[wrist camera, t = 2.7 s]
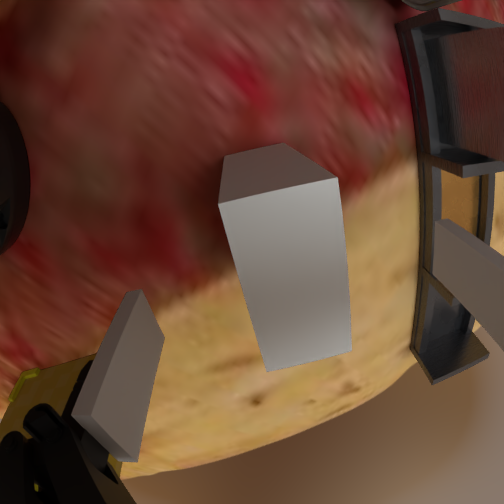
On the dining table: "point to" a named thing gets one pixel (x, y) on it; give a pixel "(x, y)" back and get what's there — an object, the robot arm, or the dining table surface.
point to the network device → (428, 4)
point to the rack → (452, 164)
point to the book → (44, 396)
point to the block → (288, 253)
